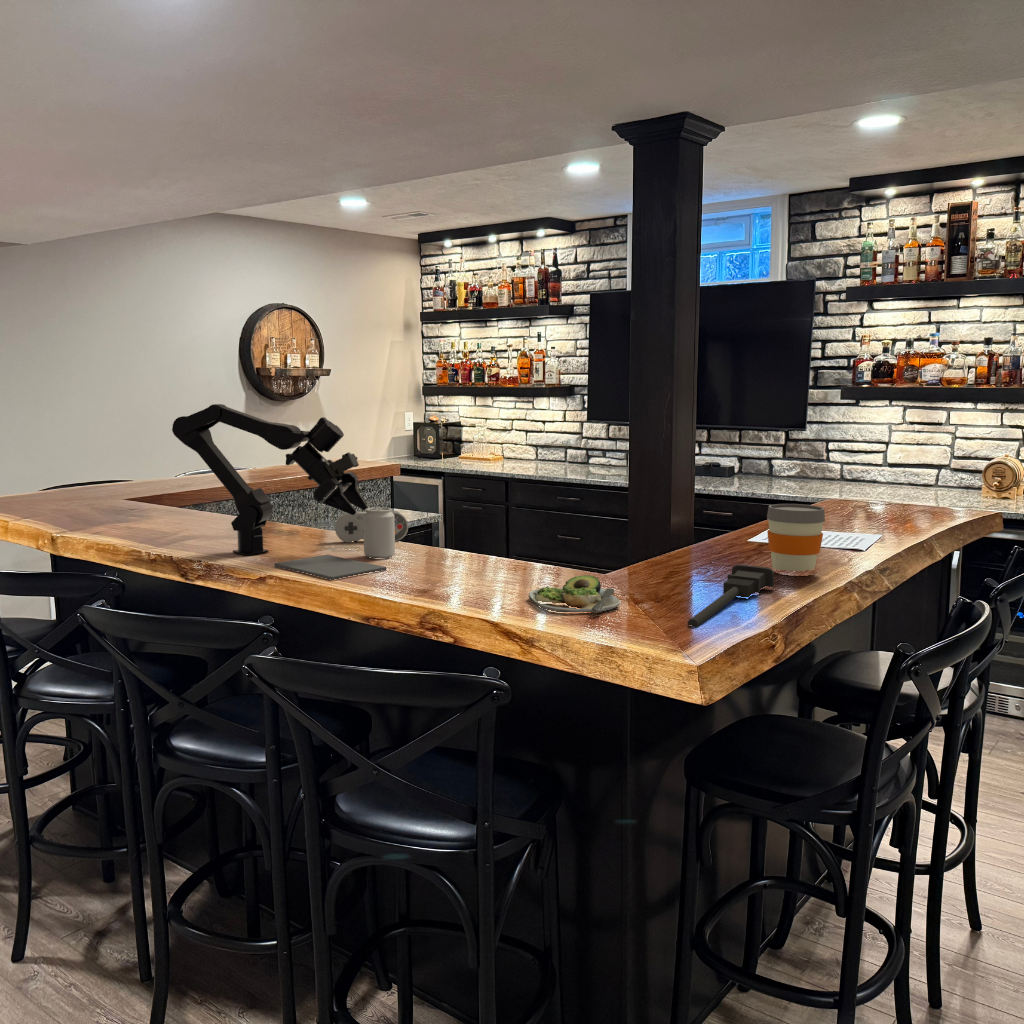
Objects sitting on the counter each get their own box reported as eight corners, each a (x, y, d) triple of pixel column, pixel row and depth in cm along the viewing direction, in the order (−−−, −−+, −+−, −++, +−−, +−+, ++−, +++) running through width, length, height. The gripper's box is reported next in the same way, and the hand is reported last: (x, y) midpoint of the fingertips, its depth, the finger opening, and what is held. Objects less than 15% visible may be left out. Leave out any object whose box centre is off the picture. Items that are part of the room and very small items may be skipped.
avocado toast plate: (640, 617, 164) (640, 593, 163) (545, 621, 161) (545, 596, 160) (608, 594, 183) (609, 571, 182) (523, 597, 179) (523, 574, 179)
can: (364, 560, 215) (363, 510, 213) (363, 554, 222) (362, 506, 220) (396, 559, 216) (395, 510, 214) (393, 553, 223) (393, 506, 222)
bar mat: (274, 566, 206) (274, 563, 206) (327, 557, 217) (327, 554, 217) (332, 580, 192) (332, 577, 191) (386, 570, 203) (386, 567, 202)
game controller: (335, 543, 238) (334, 512, 236) (335, 542, 240) (334, 511, 239) (408, 541, 242) (408, 510, 241) (407, 539, 244) (407, 509, 243)
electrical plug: (779, 586, 190) (780, 563, 189) (716, 641, 155) (717, 613, 154) (739, 581, 194) (739, 559, 193) (669, 634, 159) (669, 606, 158)
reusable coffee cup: (753, 569, 207) (755, 505, 205) (797, 565, 211) (801, 502, 209) (787, 580, 195) (791, 512, 193) (834, 576, 200) (838, 509, 198)
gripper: (324, 444, 207) (372, 492, 207) (349, 440, 225) (392, 484, 226) (293, 478, 209) (340, 525, 209) (320, 470, 228) (363, 514, 228)
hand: (360, 511), depth 218 cm, fingers open, 9 cm apart
